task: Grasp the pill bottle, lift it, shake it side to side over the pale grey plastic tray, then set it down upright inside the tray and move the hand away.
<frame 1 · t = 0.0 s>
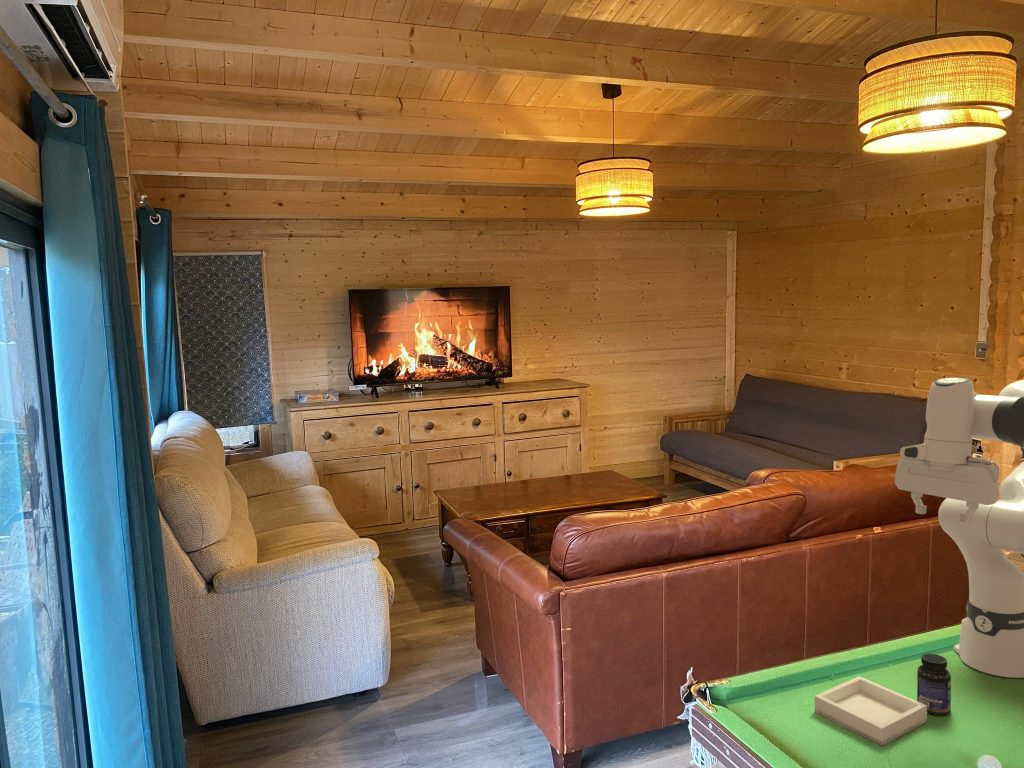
hand: (942, 518, 157), 39 cm above the table, tool pointing down, fingers open, 8 cm apart
pill bottle: (933, 709, 154), on the table
tray: (869, 716, 151), on the table
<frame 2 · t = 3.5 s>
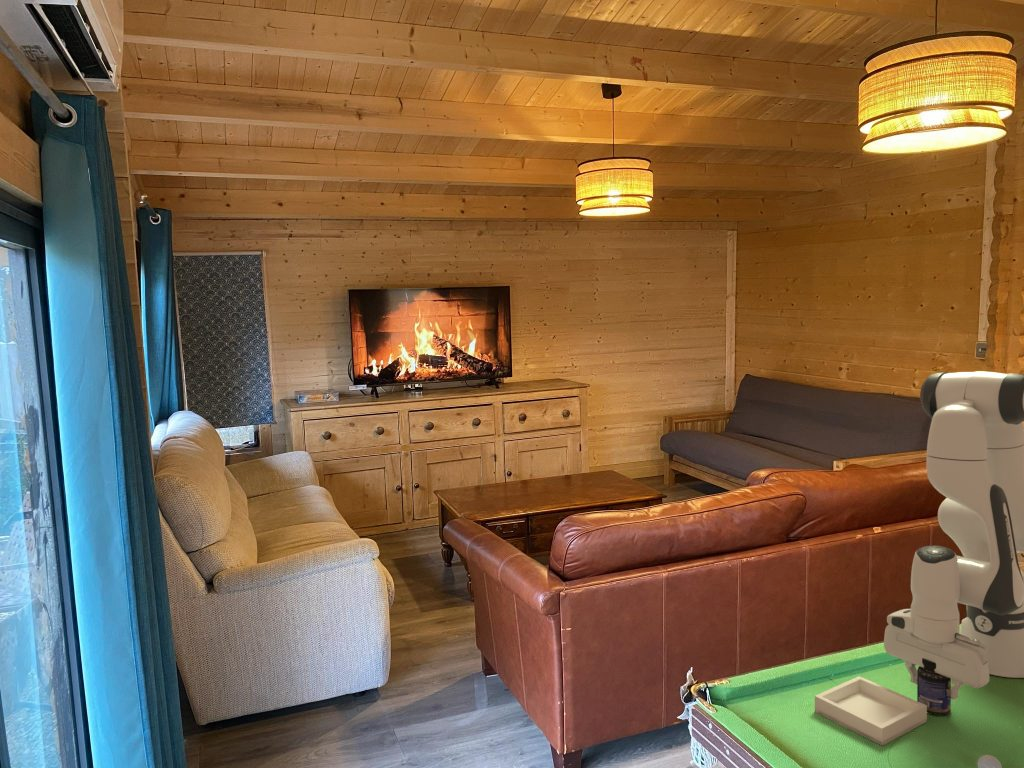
hand: (933, 690, 153), 4 cm above the table, tool pointing down, fingers closed on pill bottle, 6 cm apart
pill bottle: (933, 709, 154), on the table, touching gripper
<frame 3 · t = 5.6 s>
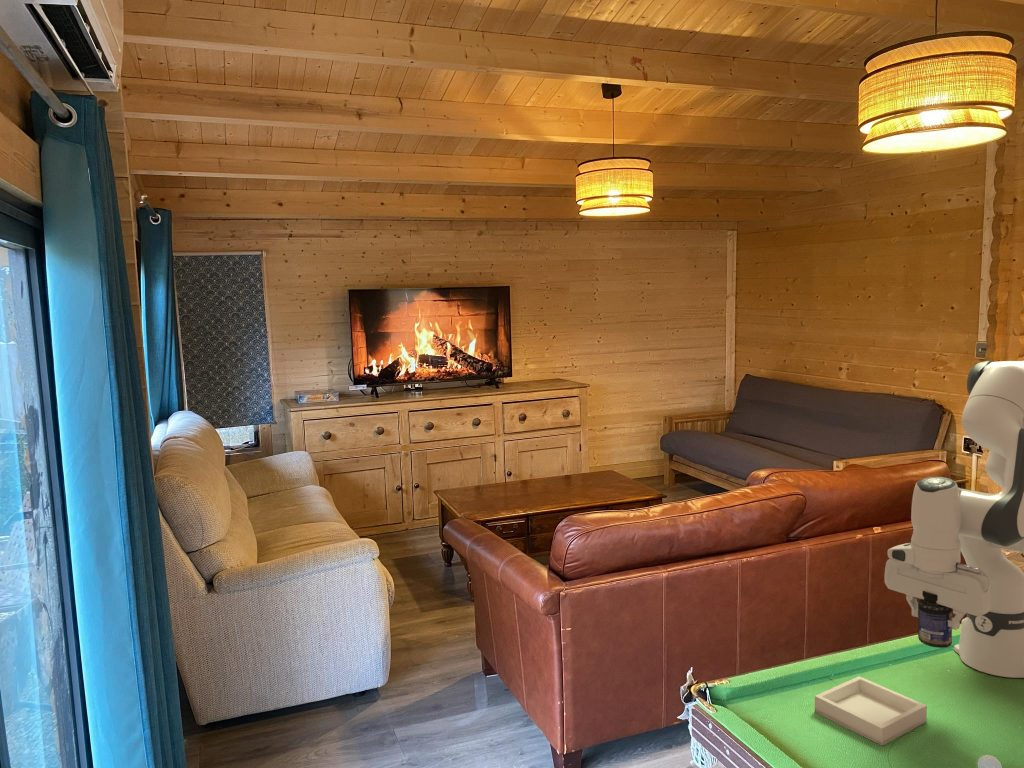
hand: (935, 622, 152), 19 cm above the table, tool pointing down, fingers closed on pill bottle, 6 cm apart
pill bottle: (934, 643, 153), point 14 cm above the table, touching gripper
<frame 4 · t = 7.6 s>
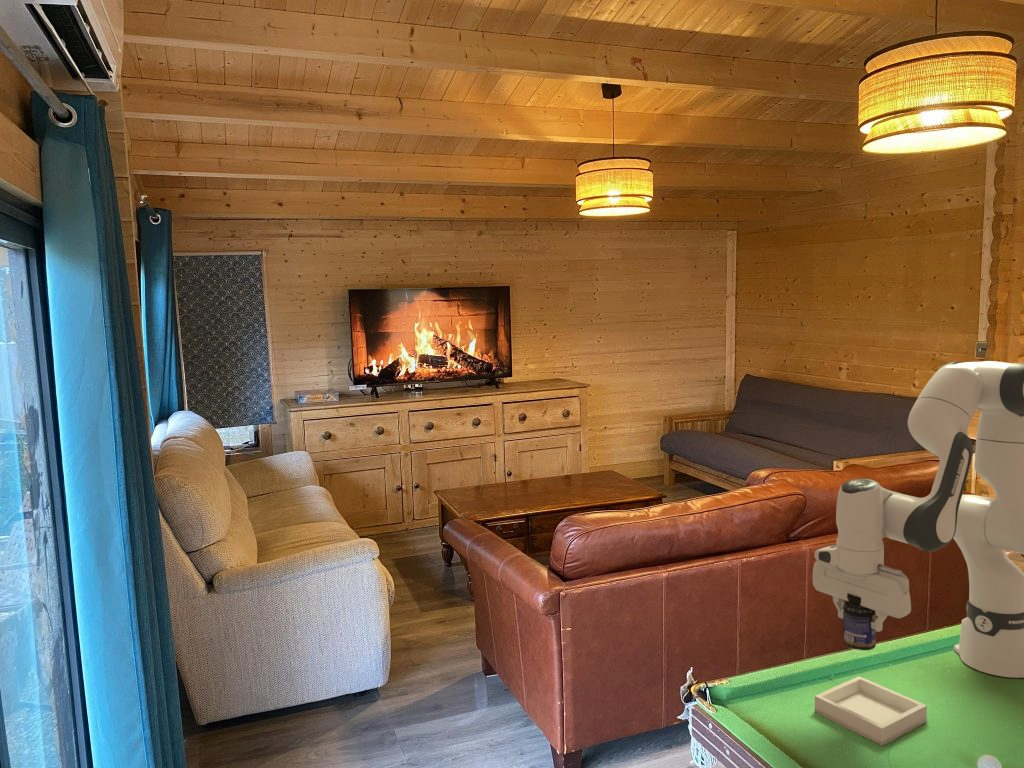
hand: (859, 624, 152), 19 cm above the table, tool pointing down, fingers closed on pill bottle, 6 cm apart
pill bottle: (859, 645, 152), point 14 cm above the table, touching gripper
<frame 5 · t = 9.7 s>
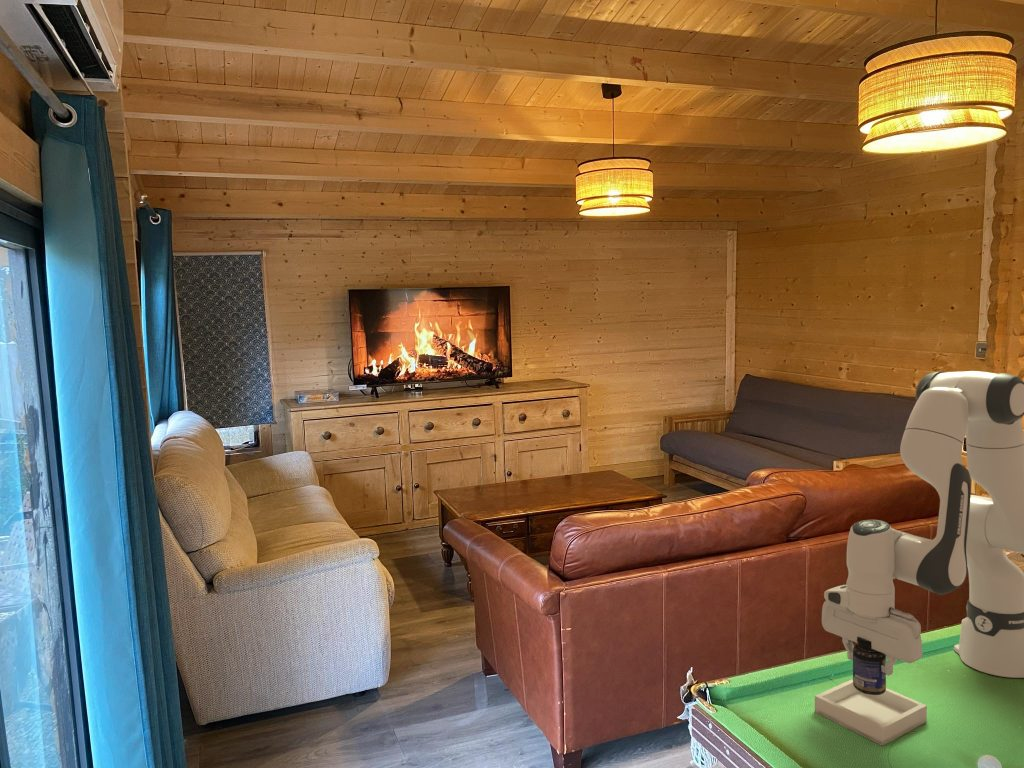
hand: (869, 666, 151), 11 cm above the table, tool pointing down, fingers closed on pill bottle, 6 cm apart
pill bottle: (869, 689, 151), point 6 cm above the table, touching gripper
when the fingers open (6 cm above the table, at t = 11.5 s): pill bottle stays where it is, resting on tray.
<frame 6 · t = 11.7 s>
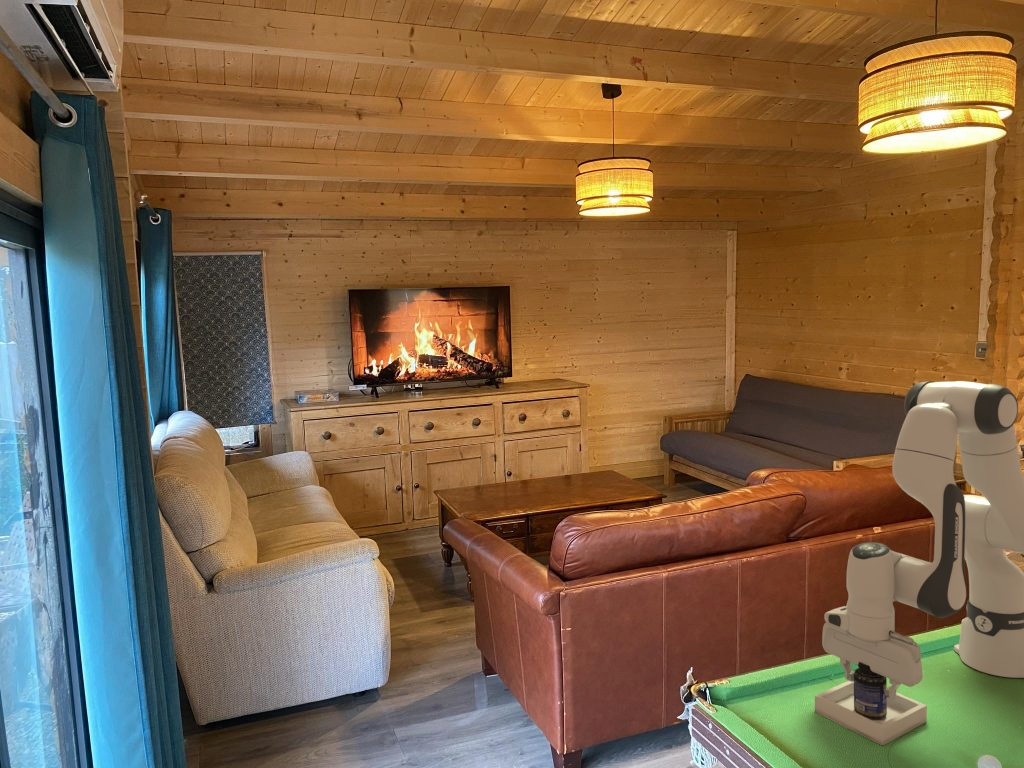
hand: (870, 688, 151), 6 cm above the table, tool pointing down, fingers open, 7 cm apart
pill bottle: (870, 713, 151), point 1 cm above the table, touching tray
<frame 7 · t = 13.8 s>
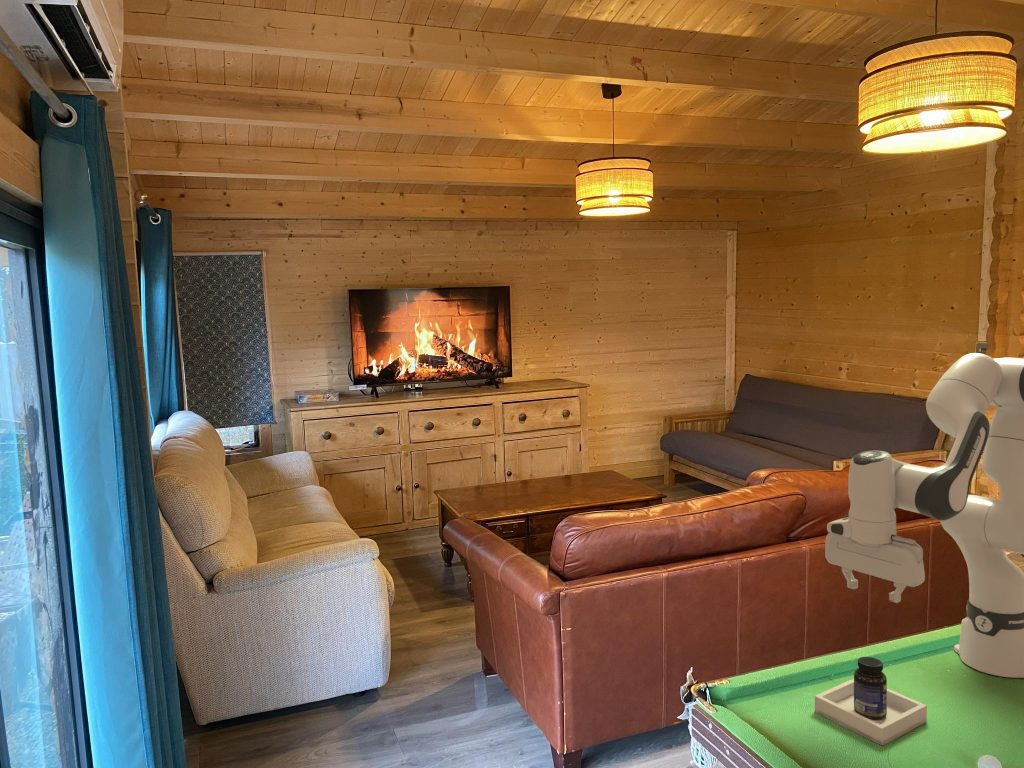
hand: (873, 594, 153), 24 cm above the table, tool pointing down, fingers open, 8 cm apart
nothing on the table moved.
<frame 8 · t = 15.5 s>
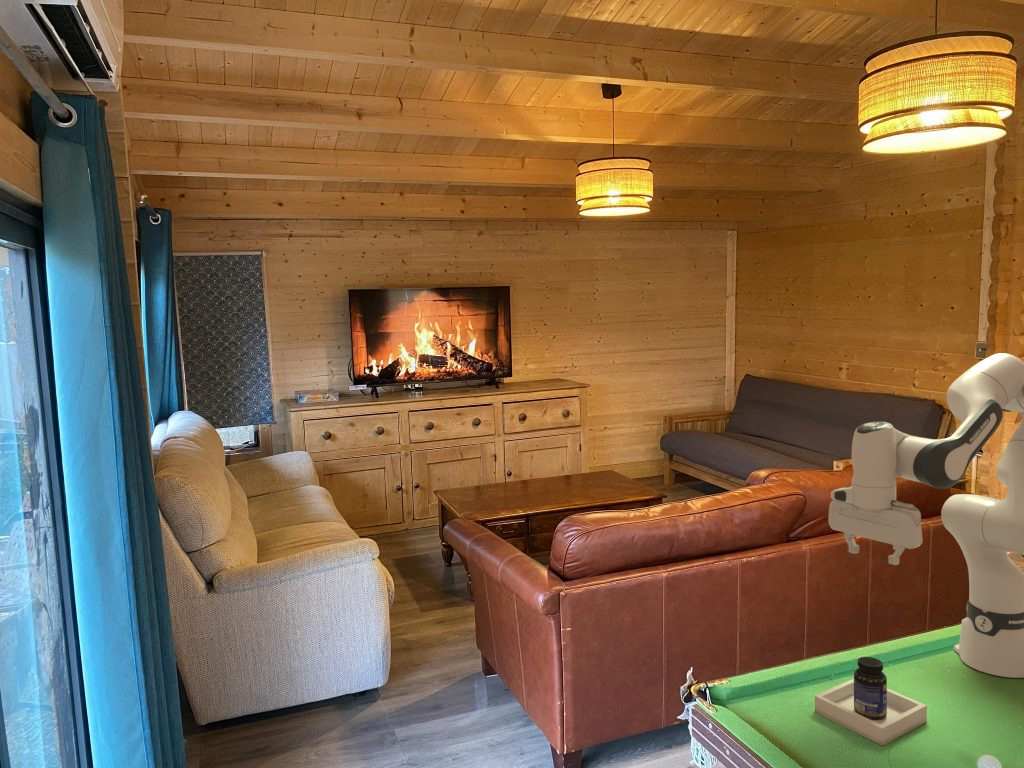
hand: (873, 558, 162), 29 cm above the table, tool pointing down, fingers open, 8 cm apart
nothing on the table moved.
at the end: pill bottle inside the target area on the tray (0.1 cm from its centre), point 0.6 cm above the tray's base; pill bottle tilted 0°; the gripper is holding nothing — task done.
